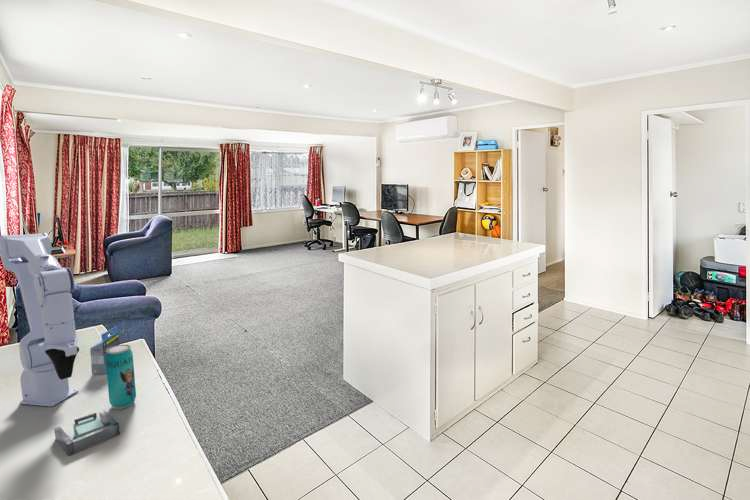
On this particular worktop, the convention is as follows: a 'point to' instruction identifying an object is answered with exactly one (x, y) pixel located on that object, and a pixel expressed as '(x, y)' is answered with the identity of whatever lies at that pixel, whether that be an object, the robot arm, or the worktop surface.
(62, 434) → the bay
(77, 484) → the worktop surface
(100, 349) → the label tape box
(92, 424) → the mint cube with handle
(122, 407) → the beverage can
